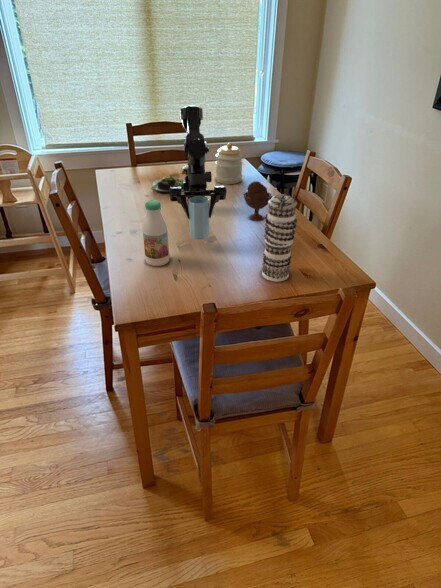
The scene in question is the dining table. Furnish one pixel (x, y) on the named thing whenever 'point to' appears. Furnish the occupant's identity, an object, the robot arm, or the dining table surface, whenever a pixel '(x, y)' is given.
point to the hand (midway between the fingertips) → (199, 217)
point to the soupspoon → (185, 168)
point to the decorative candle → (279, 237)
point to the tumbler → (199, 217)
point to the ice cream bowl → (256, 198)
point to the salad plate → (167, 184)
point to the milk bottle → (155, 235)
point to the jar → (229, 164)
